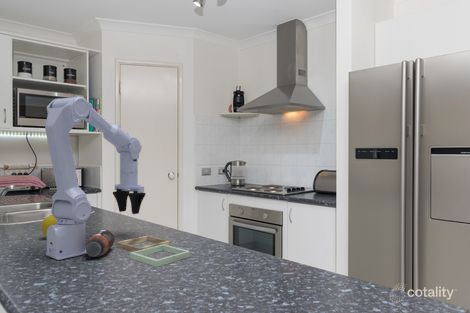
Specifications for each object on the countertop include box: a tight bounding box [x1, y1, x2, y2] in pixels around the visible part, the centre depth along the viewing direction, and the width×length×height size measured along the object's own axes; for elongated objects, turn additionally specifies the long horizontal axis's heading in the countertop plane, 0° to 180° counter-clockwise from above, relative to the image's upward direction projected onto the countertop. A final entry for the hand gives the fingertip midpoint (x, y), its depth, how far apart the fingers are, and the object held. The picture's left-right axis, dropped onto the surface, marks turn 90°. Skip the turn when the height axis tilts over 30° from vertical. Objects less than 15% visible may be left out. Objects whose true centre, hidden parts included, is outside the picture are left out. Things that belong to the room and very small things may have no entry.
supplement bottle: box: [85, 229, 115, 258], centre depth 98 cm, size 6×6×11 cm
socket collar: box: [116, 235, 172, 253], centre depth 107 cm, size 12×12×2 cm
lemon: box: [41, 214, 57, 238], centre depth 116 cm, size 6×6×8 cm
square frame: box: [129, 244, 191, 268], centre depth 95 cm, size 12×12×2 cm
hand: (128, 212), depth 119 cm, fingers open, 7 cm apart
